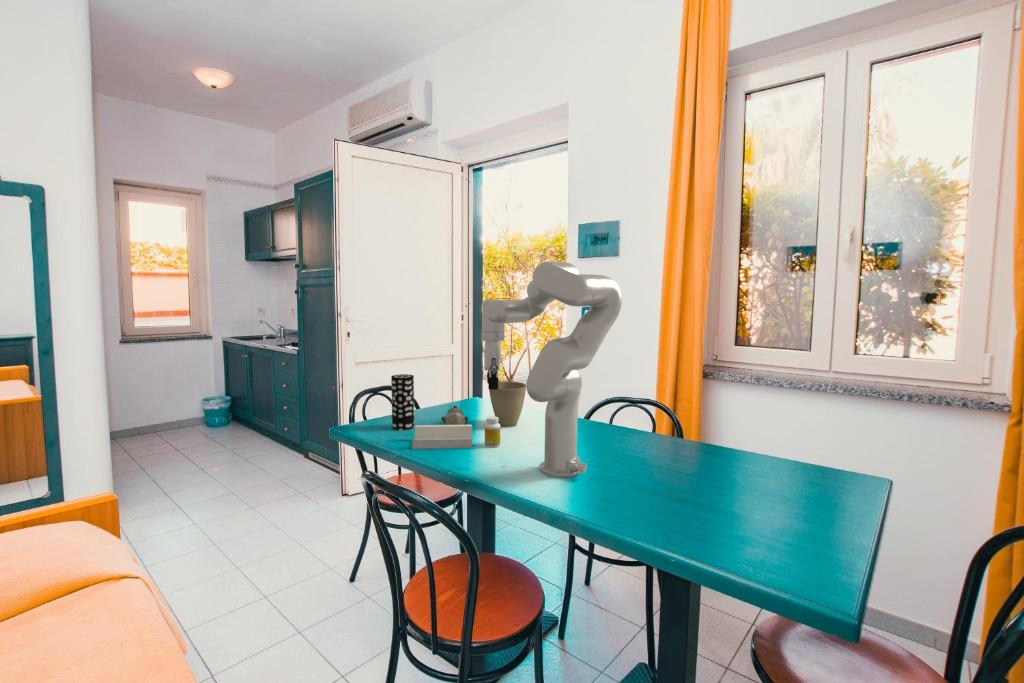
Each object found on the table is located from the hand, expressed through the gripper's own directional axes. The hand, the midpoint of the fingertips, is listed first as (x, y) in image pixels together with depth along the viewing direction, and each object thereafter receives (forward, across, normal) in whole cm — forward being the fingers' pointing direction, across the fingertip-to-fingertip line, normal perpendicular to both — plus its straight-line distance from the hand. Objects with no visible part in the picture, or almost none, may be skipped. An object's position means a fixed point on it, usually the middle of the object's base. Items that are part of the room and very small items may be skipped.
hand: (492, 386), depth 171 cm
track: (+21, -3, -17) cm, 27 cm away
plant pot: (+21, -25, +7) cm, 34 cm away
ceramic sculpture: (+21, -23, -13) cm, 34 cm away
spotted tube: (+21, -23, -33) cm, 46 cm away
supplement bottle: (+21, 0, 0) cm, 21 cm away
